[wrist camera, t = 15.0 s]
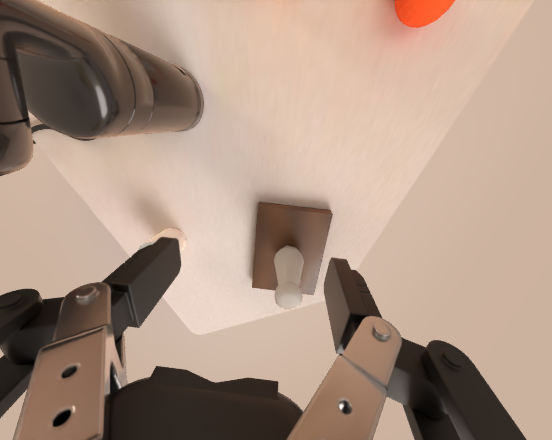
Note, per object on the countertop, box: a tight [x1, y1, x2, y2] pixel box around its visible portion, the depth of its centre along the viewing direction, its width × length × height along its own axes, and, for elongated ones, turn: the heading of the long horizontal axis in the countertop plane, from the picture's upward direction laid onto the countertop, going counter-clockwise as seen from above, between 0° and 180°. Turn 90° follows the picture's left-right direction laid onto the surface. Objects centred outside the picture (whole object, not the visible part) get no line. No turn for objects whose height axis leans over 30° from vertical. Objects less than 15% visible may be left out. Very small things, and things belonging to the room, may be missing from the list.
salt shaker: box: [274, 246, 304, 309], centre depth 38 cm, size 6×6×13 cm
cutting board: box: [252, 202, 333, 295], centre depth 45 cm, size 14×20×2 cm
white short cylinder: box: [139, 228, 187, 254], centre depth 44 cm, size 7×7×7 cm
